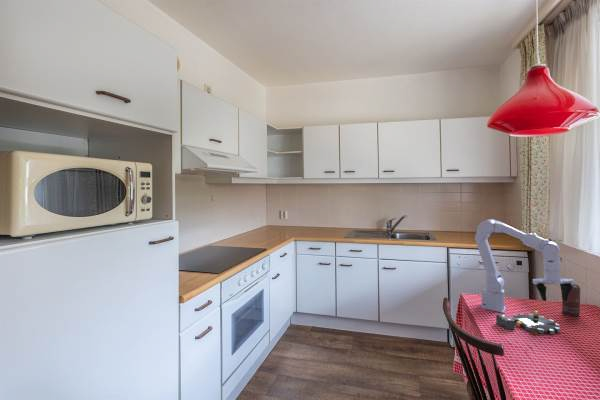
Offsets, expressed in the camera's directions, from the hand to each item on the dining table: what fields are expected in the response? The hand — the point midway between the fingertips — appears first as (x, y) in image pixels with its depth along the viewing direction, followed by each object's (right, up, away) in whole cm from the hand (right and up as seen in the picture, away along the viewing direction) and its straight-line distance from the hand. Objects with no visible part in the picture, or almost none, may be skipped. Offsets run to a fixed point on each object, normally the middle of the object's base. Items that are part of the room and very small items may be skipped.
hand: (554, 300), depth 133 cm
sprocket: (-10, -10, -2) cm, 14 cm away
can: (+14, -9, +8) cm, 19 cm away
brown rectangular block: (-16, -11, -9) cm, 21 cm away
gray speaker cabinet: (-23, -11, -2) cm, 25 cm away
